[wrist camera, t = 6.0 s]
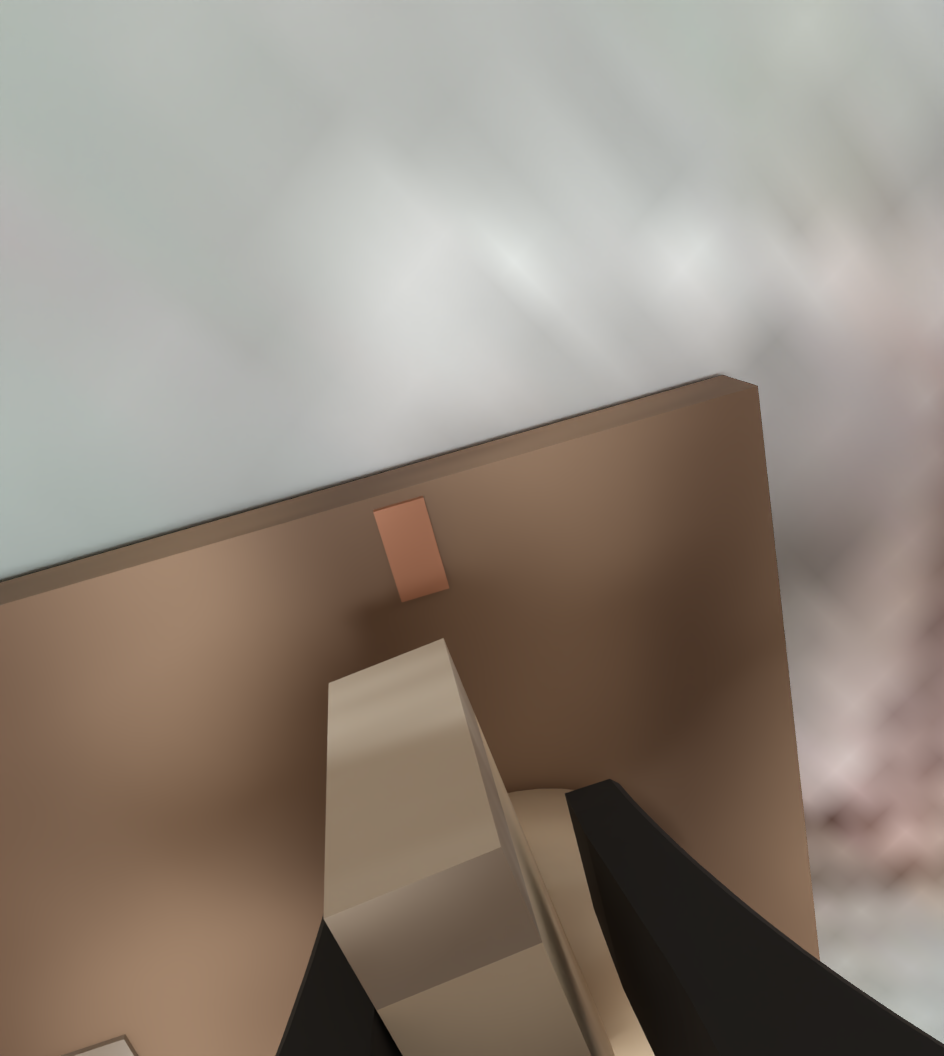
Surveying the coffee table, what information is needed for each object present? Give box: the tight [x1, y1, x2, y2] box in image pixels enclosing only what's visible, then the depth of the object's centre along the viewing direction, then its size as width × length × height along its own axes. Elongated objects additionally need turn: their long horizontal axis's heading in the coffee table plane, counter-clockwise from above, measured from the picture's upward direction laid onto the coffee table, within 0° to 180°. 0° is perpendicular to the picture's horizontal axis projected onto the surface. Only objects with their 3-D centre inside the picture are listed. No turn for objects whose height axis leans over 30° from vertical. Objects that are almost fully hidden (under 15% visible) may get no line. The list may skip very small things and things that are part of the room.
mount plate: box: [0, 375, 820, 1056], centre depth 15 cm, size 16×16×1 cm
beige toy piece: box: [324, 638, 655, 1056], centre depth 11 cm, size 11×6×6 cm, turn 19°
